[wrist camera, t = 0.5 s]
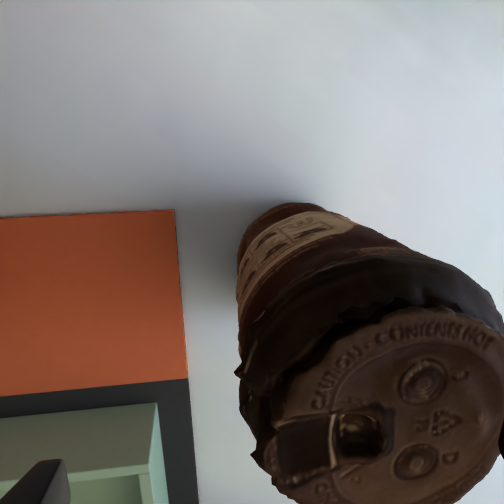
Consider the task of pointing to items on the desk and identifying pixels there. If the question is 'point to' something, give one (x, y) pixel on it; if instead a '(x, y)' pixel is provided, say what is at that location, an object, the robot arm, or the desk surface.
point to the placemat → (97, 324)
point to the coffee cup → (364, 363)
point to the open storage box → (91, 452)
